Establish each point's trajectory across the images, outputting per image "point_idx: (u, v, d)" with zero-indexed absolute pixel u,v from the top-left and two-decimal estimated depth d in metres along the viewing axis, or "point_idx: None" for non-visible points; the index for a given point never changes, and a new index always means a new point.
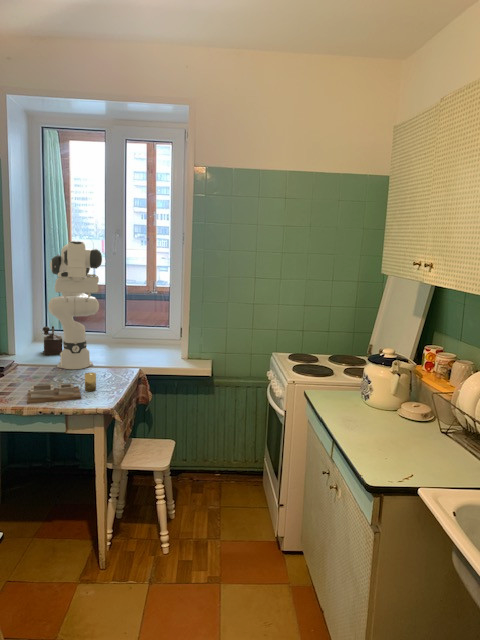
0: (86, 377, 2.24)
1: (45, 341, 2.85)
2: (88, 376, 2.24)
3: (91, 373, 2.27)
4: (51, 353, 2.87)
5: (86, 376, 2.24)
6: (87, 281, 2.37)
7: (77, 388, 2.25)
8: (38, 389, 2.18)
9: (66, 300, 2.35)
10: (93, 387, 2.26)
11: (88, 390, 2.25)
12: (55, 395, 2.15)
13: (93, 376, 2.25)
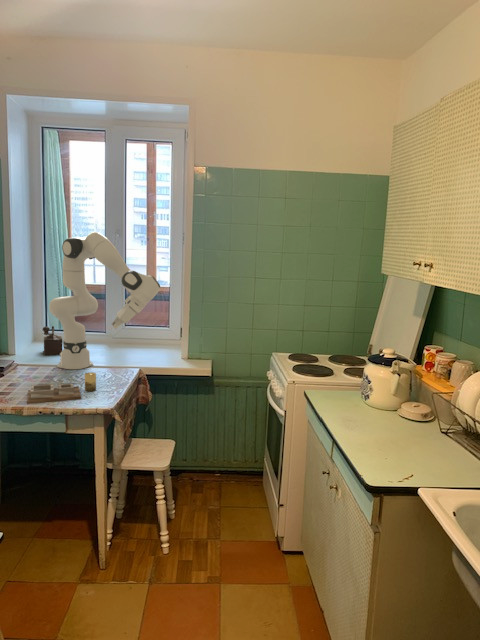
0: (86, 377, 2.24)
1: (45, 341, 2.85)
2: (88, 376, 2.24)
3: (91, 373, 2.27)
4: (51, 353, 2.87)
5: (86, 376, 2.24)
6: None
7: (77, 388, 2.25)
8: (38, 389, 2.18)
9: None
10: (93, 387, 2.26)
11: (88, 390, 2.25)
12: (55, 395, 2.15)
13: (93, 376, 2.25)
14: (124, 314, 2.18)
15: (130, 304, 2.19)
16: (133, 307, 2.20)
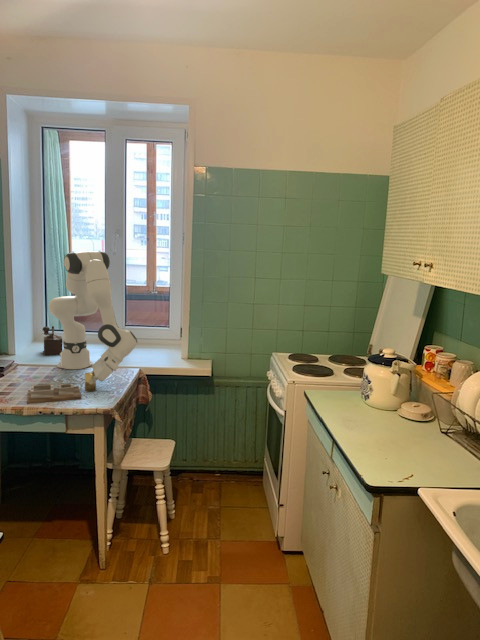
0: (86, 377, 2.24)
1: (45, 341, 2.85)
2: (88, 376, 2.24)
3: (91, 373, 2.27)
4: (51, 353, 2.87)
5: (86, 376, 2.24)
6: None
7: (77, 388, 2.25)
8: (38, 389, 2.18)
9: None
10: (93, 387, 2.26)
11: (88, 390, 2.25)
12: (55, 395, 2.15)
13: (93, 376, 2.25)
14: (101, 373, 2.18)
15: (107, 362, 2.20)
16: (110, 365, 2.20)
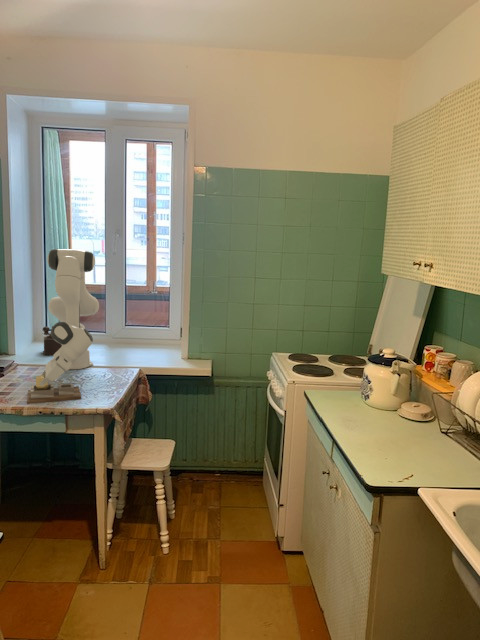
0: (37, 380, 2.12)
1: (45, 341, 2.85)
2: (40, 380, 2.12)
3: (43, 376, 2.15)
4: (51, 353, 2.87)
5: (37, 379, 2.12)
6: None
7: (77, 388, 2.25)
8: None
9: None
10: None
11: None
12: (55, 395, 2.15)
13: None
14: (51, 373, 2.06)
15: (58, 362, 2.08)
16: (61, 365, 2.08)
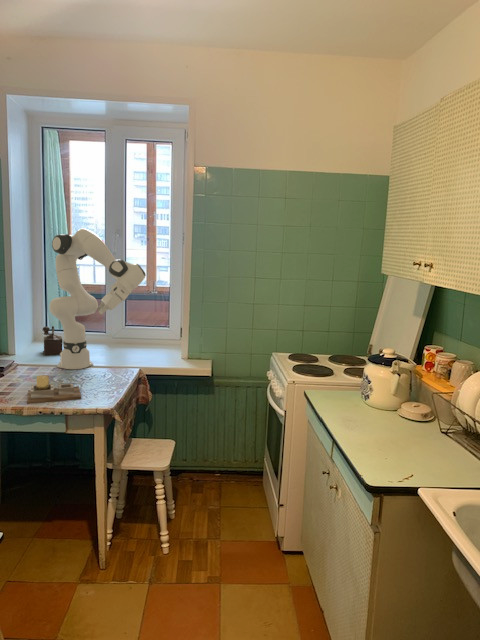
0: (38, 380, 2.13)
1: (45, 341, 2.85)
2: (41, 379, 2.12)
3: (44, 376, 2.15)
4: (51, 353, 2.87)
5: (38, 379, 2.12)
6: None
7: (77, 388, 2.25)
8: None
9: None
10: None
11: None
12: (55, 395, 2.15)
13: (46, 379, 2.14)
14: (110, 301, 2.26)
15: (116, 291, 2.27)
16: (119, 294, 2.28)
